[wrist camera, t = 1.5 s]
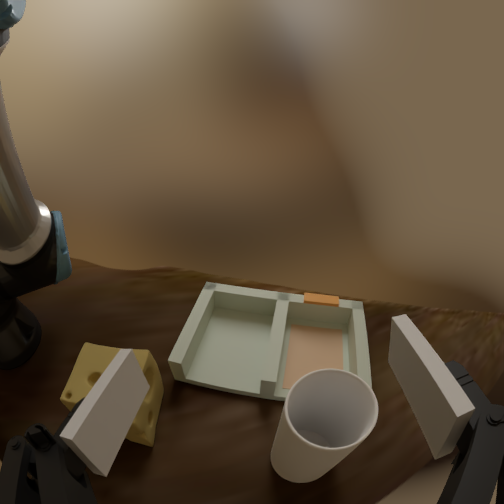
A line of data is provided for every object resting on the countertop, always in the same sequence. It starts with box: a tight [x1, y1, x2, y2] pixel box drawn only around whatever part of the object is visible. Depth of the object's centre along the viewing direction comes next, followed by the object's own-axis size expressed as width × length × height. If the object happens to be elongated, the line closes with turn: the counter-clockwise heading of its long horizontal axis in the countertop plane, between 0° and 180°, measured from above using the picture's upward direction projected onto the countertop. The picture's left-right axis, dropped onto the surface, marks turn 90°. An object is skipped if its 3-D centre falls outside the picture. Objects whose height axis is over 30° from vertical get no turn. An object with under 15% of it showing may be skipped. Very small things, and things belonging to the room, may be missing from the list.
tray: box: [168, 282, 372, 401], centre depth 42 cm, size 18×28×6 cm, turn 79°
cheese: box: [60, 343, 164, 447], centre depth 30 cm, size 10×11×10 cm
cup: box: [270, 369, 378, 483], centre depth 24 cm, size 8×8×16 cm
